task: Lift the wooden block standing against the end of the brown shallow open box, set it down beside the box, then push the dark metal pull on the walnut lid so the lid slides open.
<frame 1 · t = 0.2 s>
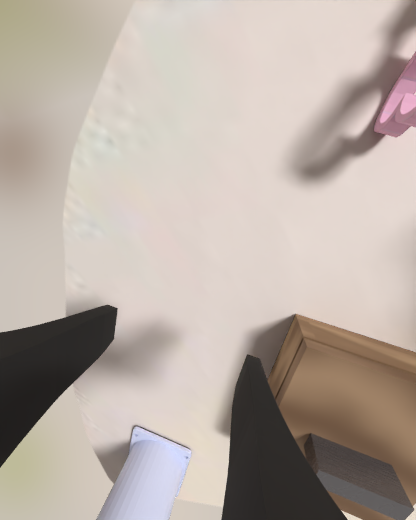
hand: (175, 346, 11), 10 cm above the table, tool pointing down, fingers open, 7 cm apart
lid: (355, 457, 16), point 5 cm above the table, slide at 0.0 cm
brown shallow open box: (331, 394, 21), on the table
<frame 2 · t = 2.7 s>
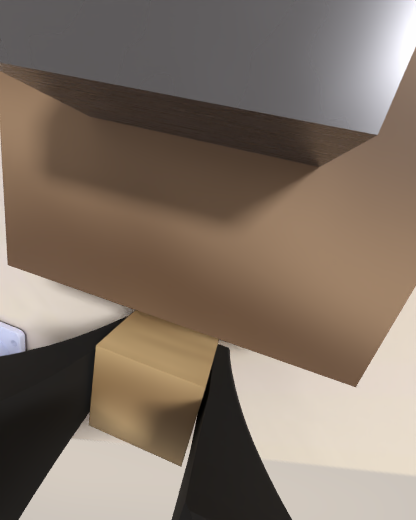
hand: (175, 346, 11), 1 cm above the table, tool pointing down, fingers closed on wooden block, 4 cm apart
lid: (204, 28, 4), point 5 cm above the table, slide at 0.0 cm
wooden block: (184, 330, 12), on the table, touching gripper
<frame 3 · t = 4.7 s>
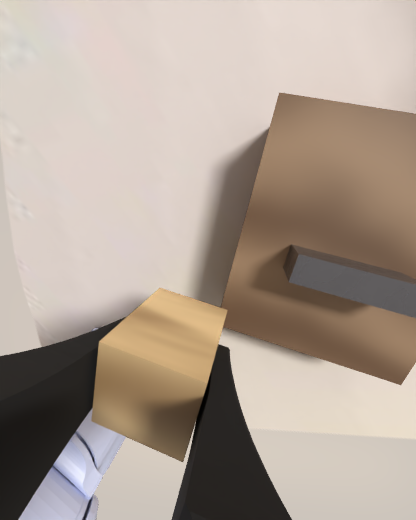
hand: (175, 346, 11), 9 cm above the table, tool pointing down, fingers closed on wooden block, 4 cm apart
lid: (351, 257, 11), point 5 cm above the table, slide at 0.0 cm
wooden block: (185, 328, 13), point 7 cm above the table, touching gripper
when the fingers open (3 cm above the table, at t = 6.8 s): wooden block drops 1 cm, on the table.
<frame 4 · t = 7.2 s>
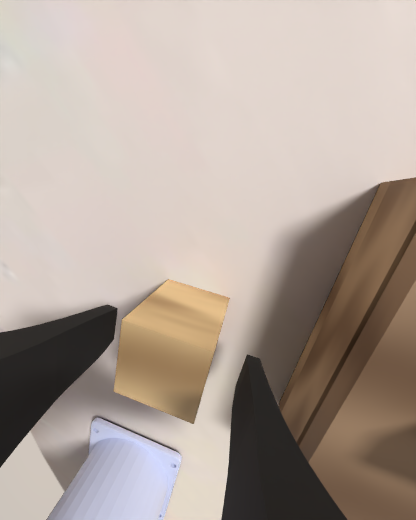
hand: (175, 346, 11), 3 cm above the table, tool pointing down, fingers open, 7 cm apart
wooden block: (192, 315, 14), on the table
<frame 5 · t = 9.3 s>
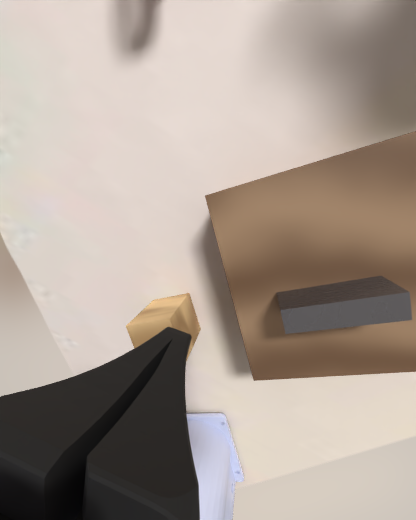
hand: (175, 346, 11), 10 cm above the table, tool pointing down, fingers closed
lid: (328, 285, 13), point 5 cm above the table, slide at 0.0 cm
wooden block: (177, 314, 22), on the table
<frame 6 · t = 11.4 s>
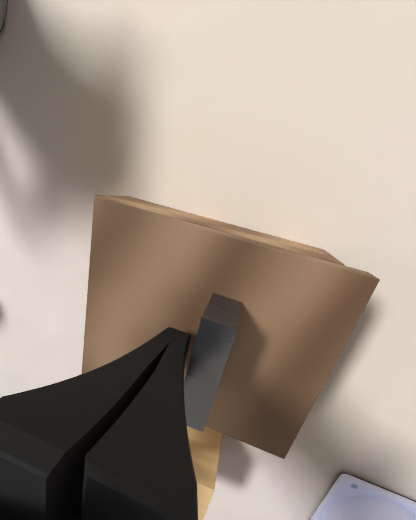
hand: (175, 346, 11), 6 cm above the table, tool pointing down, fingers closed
lid: (192, 346, 11), point 5 cm above the table, slide at 1.0 cm, touching gripper
brown shallow open box: (200, 297, 17), on the table
wooden block: (198, 426, 20), on the table
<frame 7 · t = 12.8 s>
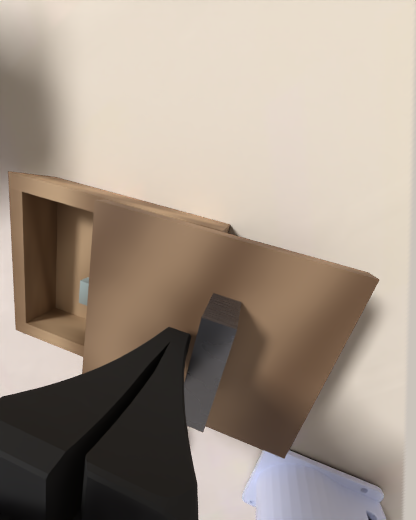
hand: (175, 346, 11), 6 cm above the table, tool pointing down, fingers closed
lid: (192, 346, 11), point 5 cm above the table, slide at 7.2 cm, touching gripper
brown shallow open box: (127, 273, 17), on the table
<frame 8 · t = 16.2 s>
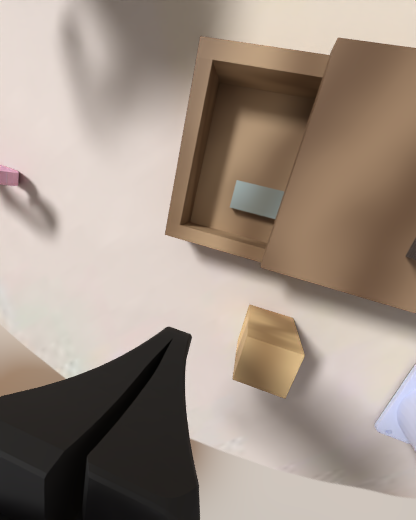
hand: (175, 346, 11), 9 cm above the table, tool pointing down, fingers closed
brown shallow open box: (279, 177, 17), on the table
wooden block: (264, 329, 20), on the table
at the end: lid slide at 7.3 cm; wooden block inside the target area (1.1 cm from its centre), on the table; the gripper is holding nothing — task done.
